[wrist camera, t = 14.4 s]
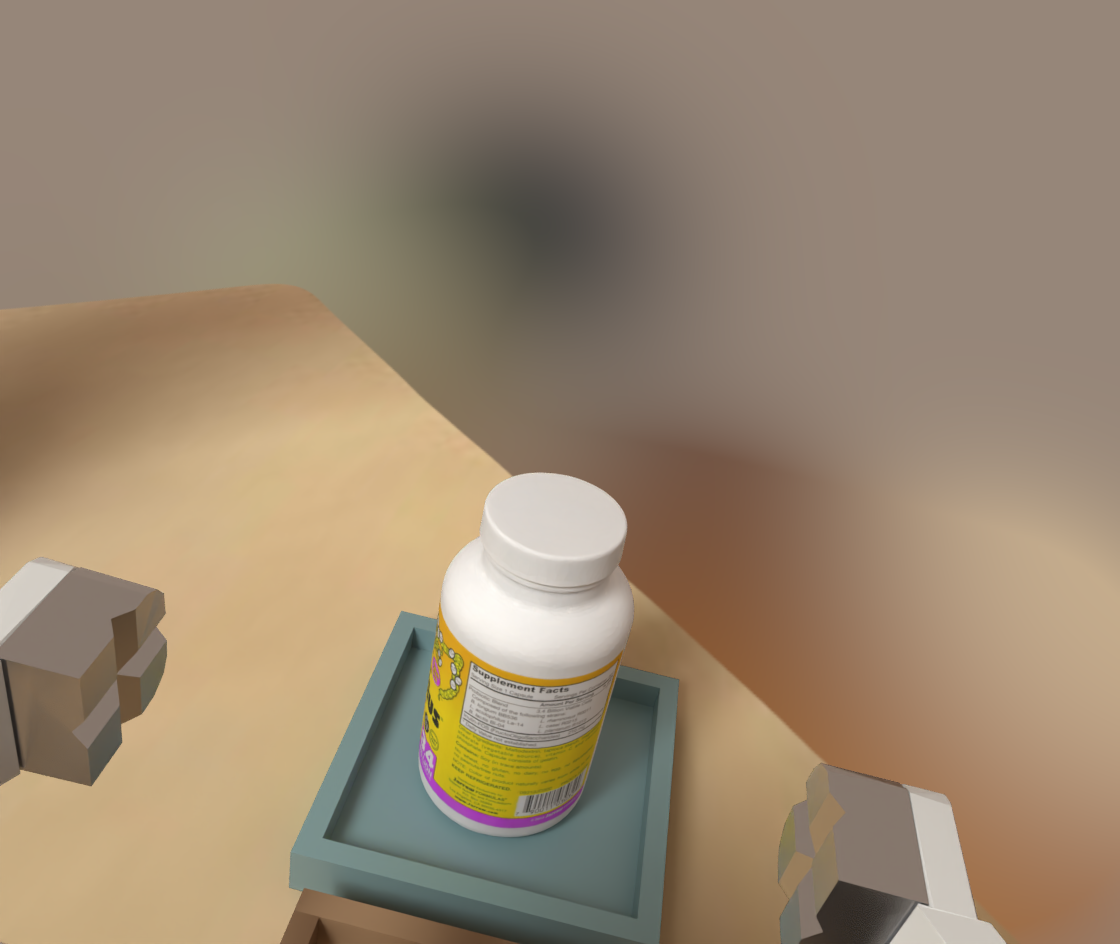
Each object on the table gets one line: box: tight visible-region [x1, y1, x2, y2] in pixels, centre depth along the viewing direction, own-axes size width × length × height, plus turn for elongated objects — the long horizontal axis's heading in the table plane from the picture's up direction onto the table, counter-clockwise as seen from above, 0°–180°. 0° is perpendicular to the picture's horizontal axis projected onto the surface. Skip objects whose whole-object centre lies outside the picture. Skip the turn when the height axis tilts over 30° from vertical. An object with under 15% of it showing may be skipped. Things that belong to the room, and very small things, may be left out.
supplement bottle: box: [418, 473, 634, 837], centre depth 35 cm, size 7×7×13 cm
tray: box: [289, 611, 679, 944], centre depth 38 cm, size 13×13×2 cm
